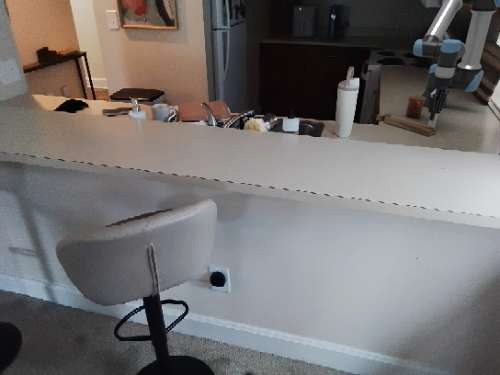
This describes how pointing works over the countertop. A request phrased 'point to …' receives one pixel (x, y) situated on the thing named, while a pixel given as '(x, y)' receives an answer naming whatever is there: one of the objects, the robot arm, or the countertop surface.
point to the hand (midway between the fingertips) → (431, 126)
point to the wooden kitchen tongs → (403, 124)
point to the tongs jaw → (419, 125)
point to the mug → (415, 106)
